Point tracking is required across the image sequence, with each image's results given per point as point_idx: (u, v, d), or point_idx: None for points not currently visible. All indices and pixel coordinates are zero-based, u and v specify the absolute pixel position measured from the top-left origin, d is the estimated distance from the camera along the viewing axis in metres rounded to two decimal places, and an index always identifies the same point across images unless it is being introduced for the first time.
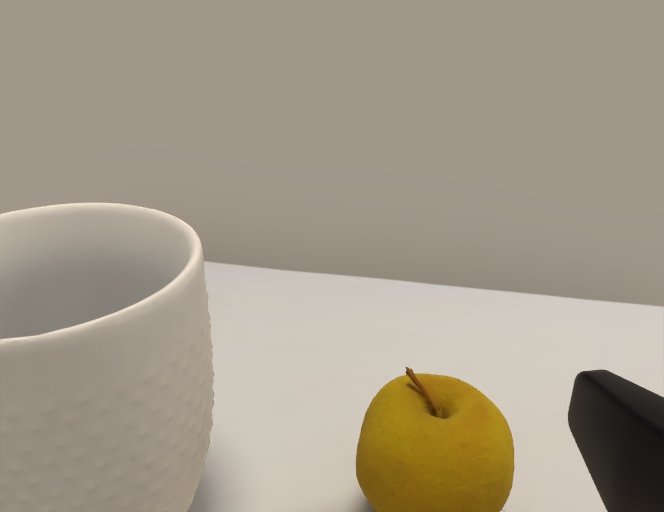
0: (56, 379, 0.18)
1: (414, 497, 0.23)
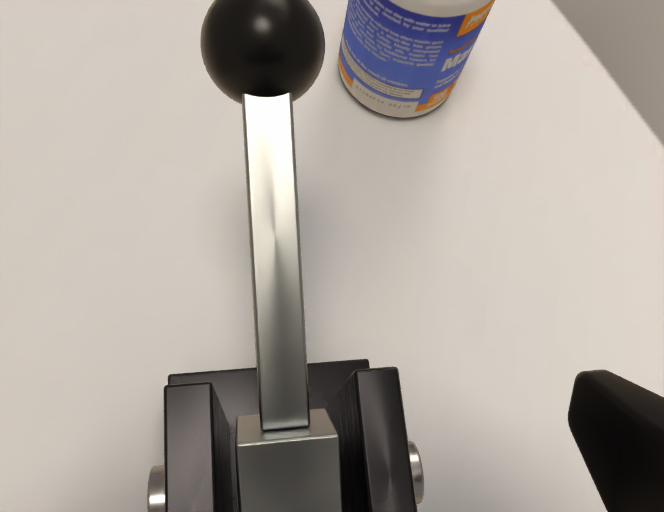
0: None
1: None
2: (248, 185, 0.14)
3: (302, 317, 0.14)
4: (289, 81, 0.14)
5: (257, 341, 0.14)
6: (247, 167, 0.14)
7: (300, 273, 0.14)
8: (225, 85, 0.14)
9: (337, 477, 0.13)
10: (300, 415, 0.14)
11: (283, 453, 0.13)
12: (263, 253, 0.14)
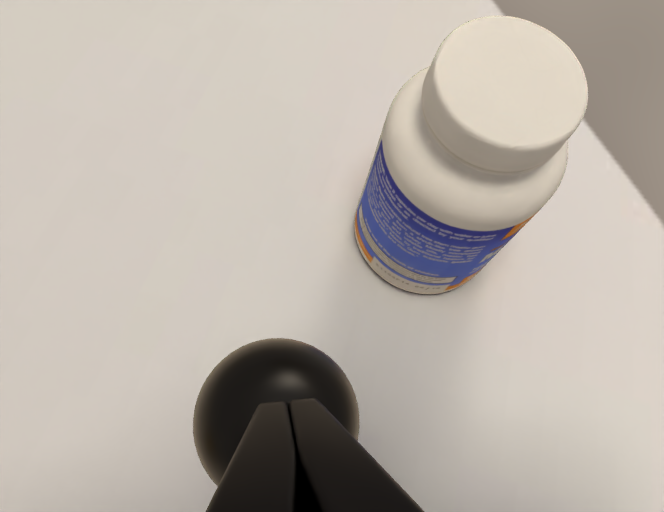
0: None
1: None
2: None
3: None
4: None
5: None
6: None
7: None
8: None
9: None
10: None
11: None
12: None
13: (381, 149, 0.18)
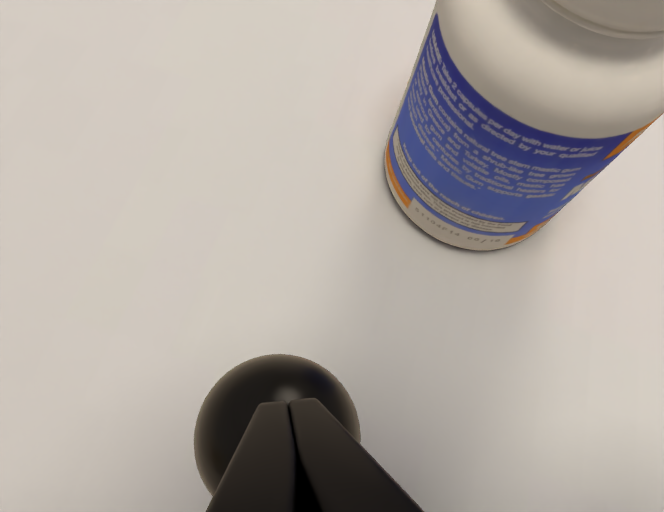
0: None
1: None
2: None
3: None
4: None
5: None
6: None
7: None
8: None
9: None
10: None
11: None
12: None
13: (436, 27, 0.13)
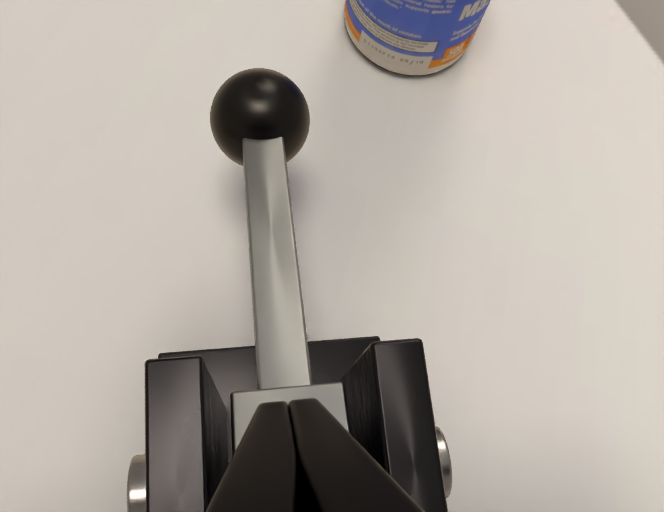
0: None
1: None
2: (247, 195, 0.16)
3: (299, 294, 0.14)
4: (280, 124, 0.17)
5: (255, 315, 0.14)
6: (246, 183, 0.16)
7: (296, 259, 0.15)
8: (228, 136, 0.17)
9: (345, 426, 0.12)
10: (302, 384, 0.13)
11: None
12: (261, 243, 0.15)
13: None
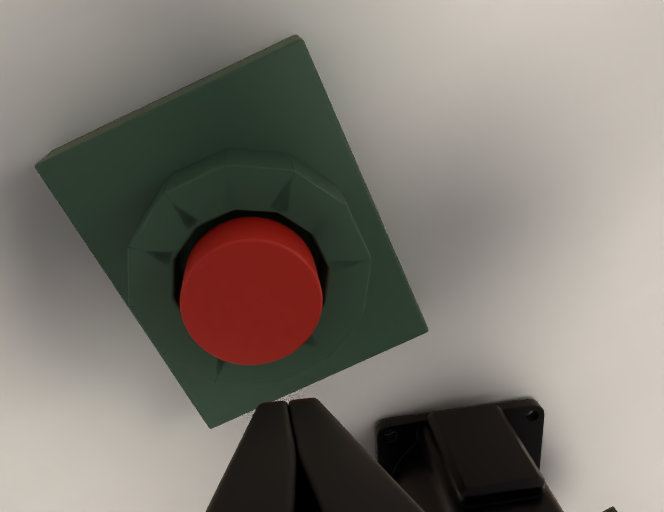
0: None
1: None
2: None
3: None
4: None
5: None
6: None
7: None
8: None
9: None
10: None
11: None
12: None
13: None
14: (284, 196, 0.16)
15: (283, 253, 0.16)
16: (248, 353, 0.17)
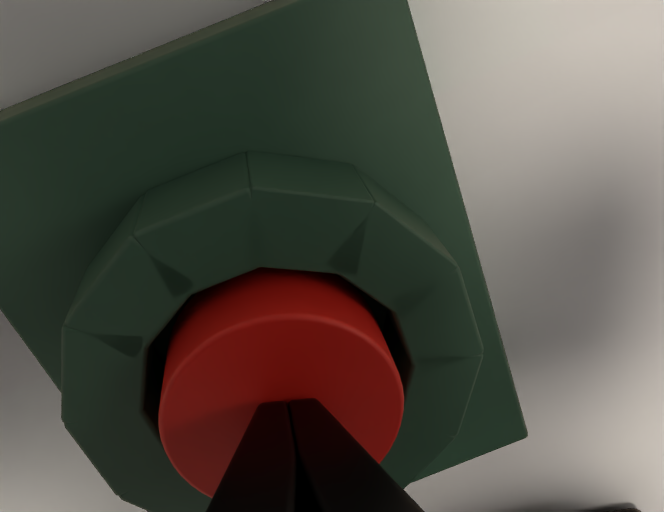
0: None
1: None
2: None
3: None
4: None
5: None
6: None
7: None
8: None
9: None
10: None
11: None
12: None
13: None
14: (353, 247, 0.09)
15: (348, 340, 0.09)
16: None
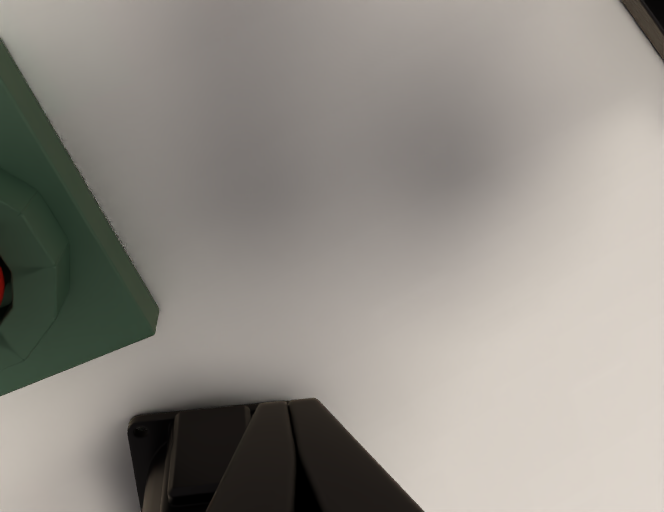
0: None
1: None
2: None
3: None
4: None
5: None
6: None
7: None
8: None
9: None
10: None
11: None
12: None
13: None
14: None
15: None
16: None
